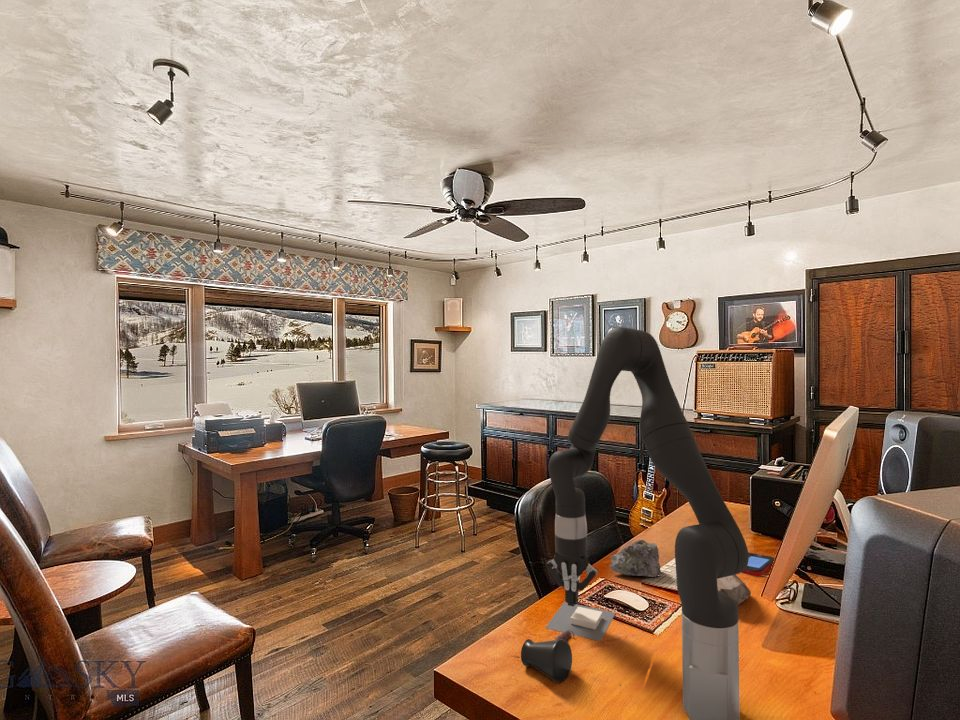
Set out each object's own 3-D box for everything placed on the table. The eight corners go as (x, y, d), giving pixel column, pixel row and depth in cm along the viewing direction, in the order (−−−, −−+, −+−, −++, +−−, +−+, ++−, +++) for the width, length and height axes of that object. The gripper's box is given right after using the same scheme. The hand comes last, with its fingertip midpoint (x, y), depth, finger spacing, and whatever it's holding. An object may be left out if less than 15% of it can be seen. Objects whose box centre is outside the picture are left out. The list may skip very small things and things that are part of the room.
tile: (570, 624, 122) (595, 630, 119) (570, 617, 122) (595, 623, 119) (578, 612, 127) (602, 618, 124) (578, 606, 127) (602, 611, 124)
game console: (734, 553, 165) (734, 546, 165) (778, 565, 156) (778, 557, 155) (714, 566, 156) (714, 558, 156) (759, 579, 146) (759, 571, 146)
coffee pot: (554, 689, 99) (518, 679, 104) (599, 659, 112) (565, 651, 118) (551, 646, 100) (515, 638, 105) (596, 621, 114) (563, 615, 119)
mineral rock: (608, 575, 150) (607, 540, 150) (621, 562, 159) (620, 529, 158) (654, 585, 142) (653, 549, 142) (664, 571, 151) (664, 537, 151)
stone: (726, 621, 123) (757, 592, 123) (697, 590, 128) (727, 562, 128) (723, 618, 136) (751, 592, 136) (697, 589, 141) (724, 564, 141)
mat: (600, 643, 114) (600, 641, 114) (545, 629, 120) (545, 627, 120) (615, 614, 127) (615, 612, 127) (564, 603, 133) (564, 601, 133)
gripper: (539, 533, 124) (540, 605, 124) (594, 541, 118) (595, 617, 118) (549, 524, 131) (551, 592, 131) (602, 531, 125) (603, 603, 125)
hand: (572, 604), depth 124 cm, fingers closed
